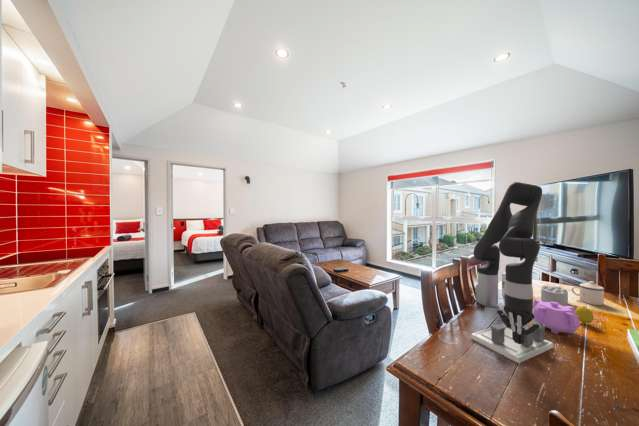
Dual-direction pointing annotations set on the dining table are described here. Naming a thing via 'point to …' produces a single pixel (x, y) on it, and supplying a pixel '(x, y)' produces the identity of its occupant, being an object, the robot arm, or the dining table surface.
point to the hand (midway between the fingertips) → (518, 342)
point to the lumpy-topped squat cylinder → (554, 294)
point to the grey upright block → (497, 334)
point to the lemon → (584, 315)
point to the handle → (539, 334)
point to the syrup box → (503, 283)
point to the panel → (511, 345)
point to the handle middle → (528, 339)
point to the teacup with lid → (591, 293)
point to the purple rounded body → (556, 316)
